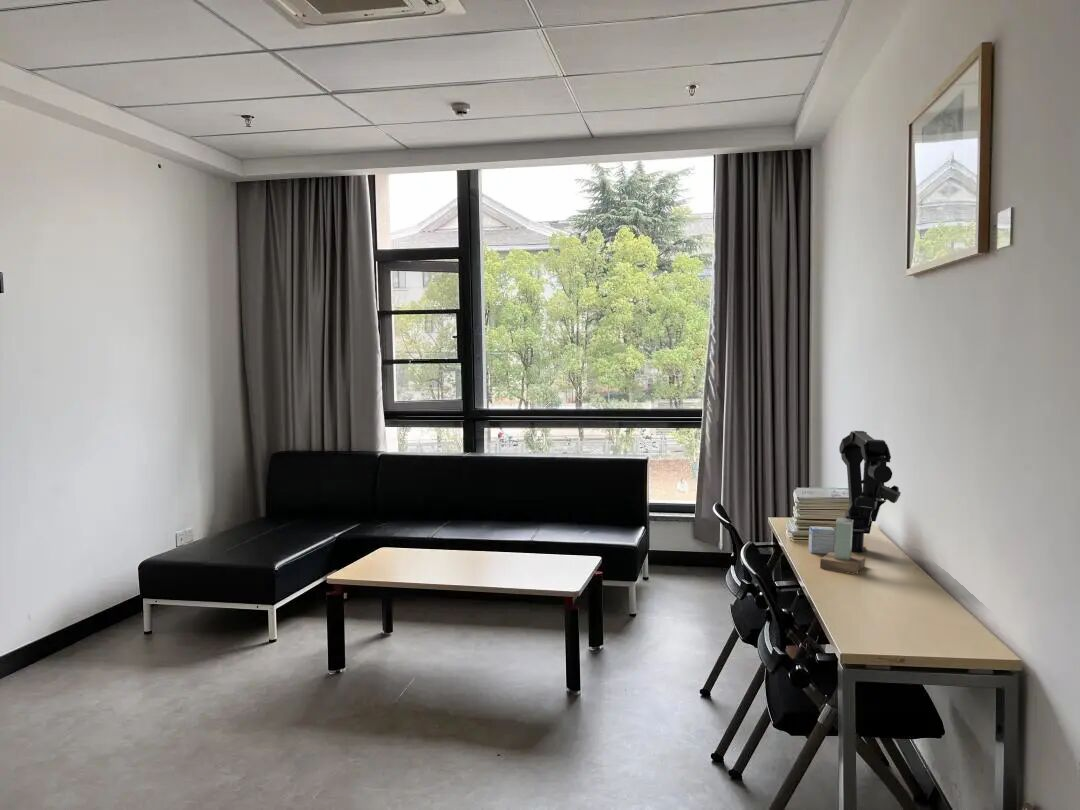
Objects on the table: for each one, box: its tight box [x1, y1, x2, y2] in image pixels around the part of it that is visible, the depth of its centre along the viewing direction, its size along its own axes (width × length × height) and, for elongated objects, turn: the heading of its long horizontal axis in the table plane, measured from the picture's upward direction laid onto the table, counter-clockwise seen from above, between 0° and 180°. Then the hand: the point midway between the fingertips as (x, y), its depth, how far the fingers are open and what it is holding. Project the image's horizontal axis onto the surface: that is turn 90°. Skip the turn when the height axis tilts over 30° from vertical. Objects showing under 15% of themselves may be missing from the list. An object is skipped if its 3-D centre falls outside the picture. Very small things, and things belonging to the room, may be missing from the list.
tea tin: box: [834, 517, 854, 561], centre depth 250 cm, size 5×5×13 cm
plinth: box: [819, 551, 866, 575], centre depth 251 cm, size 11×11×3 cm
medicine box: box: [807, 525, 836, 555], centre depth 269 cm, size 8×4×9 cm, turn 84°
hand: (870, 523), depth 257 cm, fingers open, 9 cm apart
